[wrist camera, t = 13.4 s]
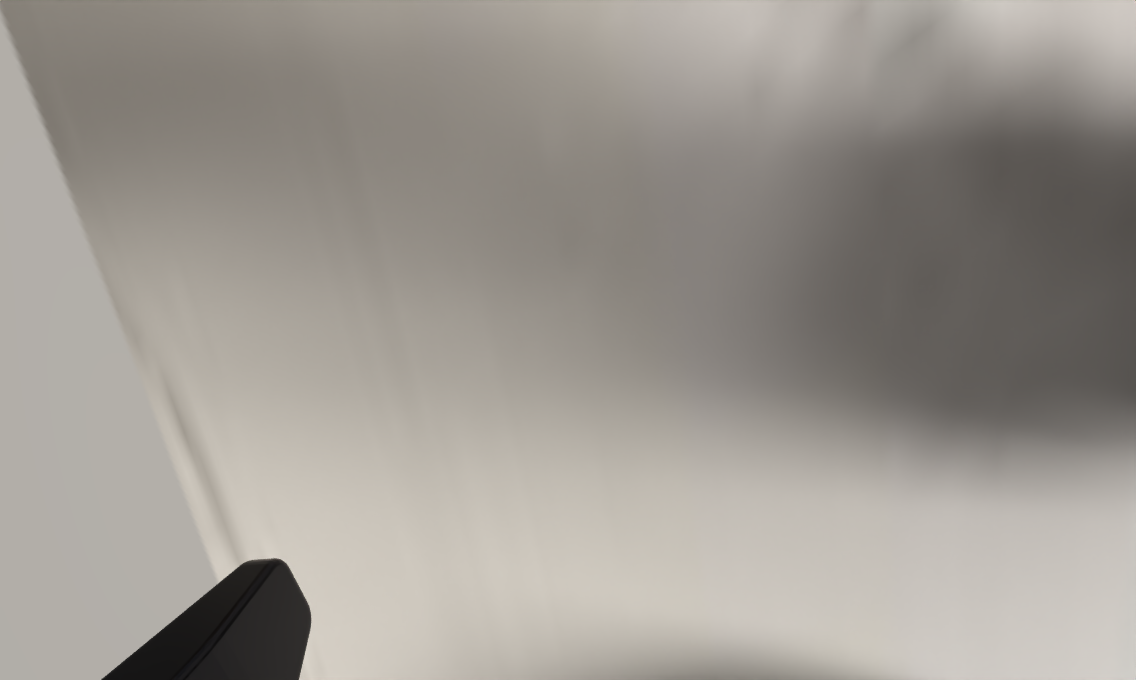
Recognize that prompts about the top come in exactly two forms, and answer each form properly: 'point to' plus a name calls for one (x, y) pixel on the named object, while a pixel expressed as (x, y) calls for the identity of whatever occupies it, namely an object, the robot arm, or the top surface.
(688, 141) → the top surface
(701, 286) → the top surface
